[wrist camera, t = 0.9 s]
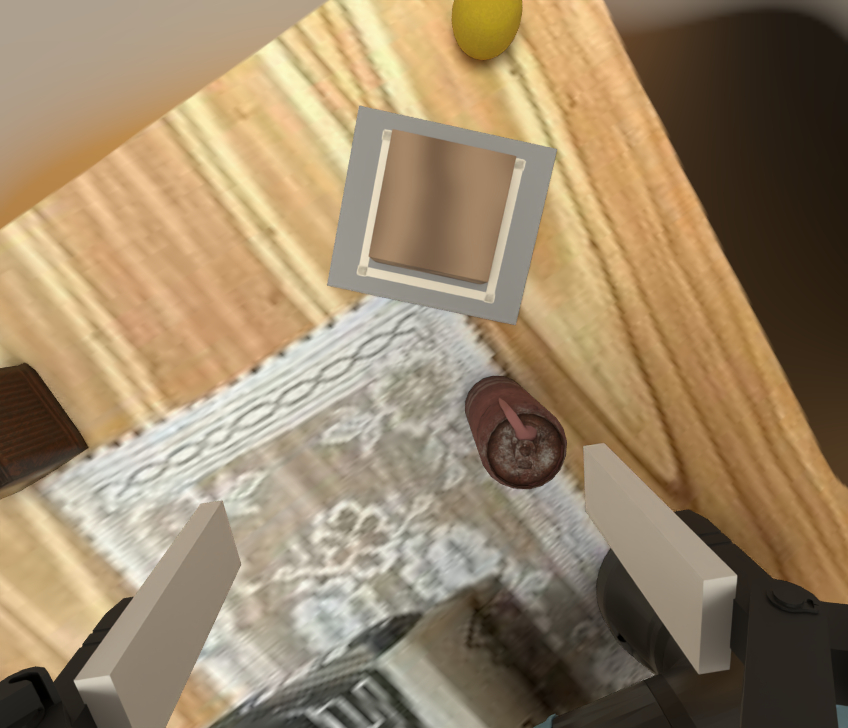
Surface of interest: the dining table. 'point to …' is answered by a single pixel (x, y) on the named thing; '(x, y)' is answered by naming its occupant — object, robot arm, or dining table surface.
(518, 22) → the lemon
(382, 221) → the walnut plinth
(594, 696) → the dining table surface
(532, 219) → the grey base plate
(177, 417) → the dining table surface
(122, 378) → the dining table surface
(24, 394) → the manual coffee grinder
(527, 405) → the can
